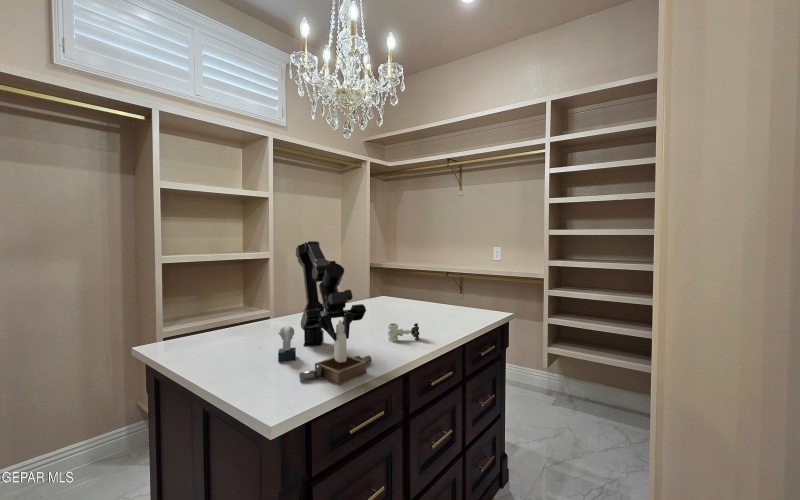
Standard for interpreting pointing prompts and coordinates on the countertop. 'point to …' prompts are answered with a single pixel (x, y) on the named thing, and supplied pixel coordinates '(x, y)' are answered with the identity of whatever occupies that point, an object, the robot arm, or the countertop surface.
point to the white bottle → (340, 344)
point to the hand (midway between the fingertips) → (341, 339)
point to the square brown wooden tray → (342, 369)
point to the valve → (401, 332)
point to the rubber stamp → (286, 345)
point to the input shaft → (365, 358)
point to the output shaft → (311, 374)
